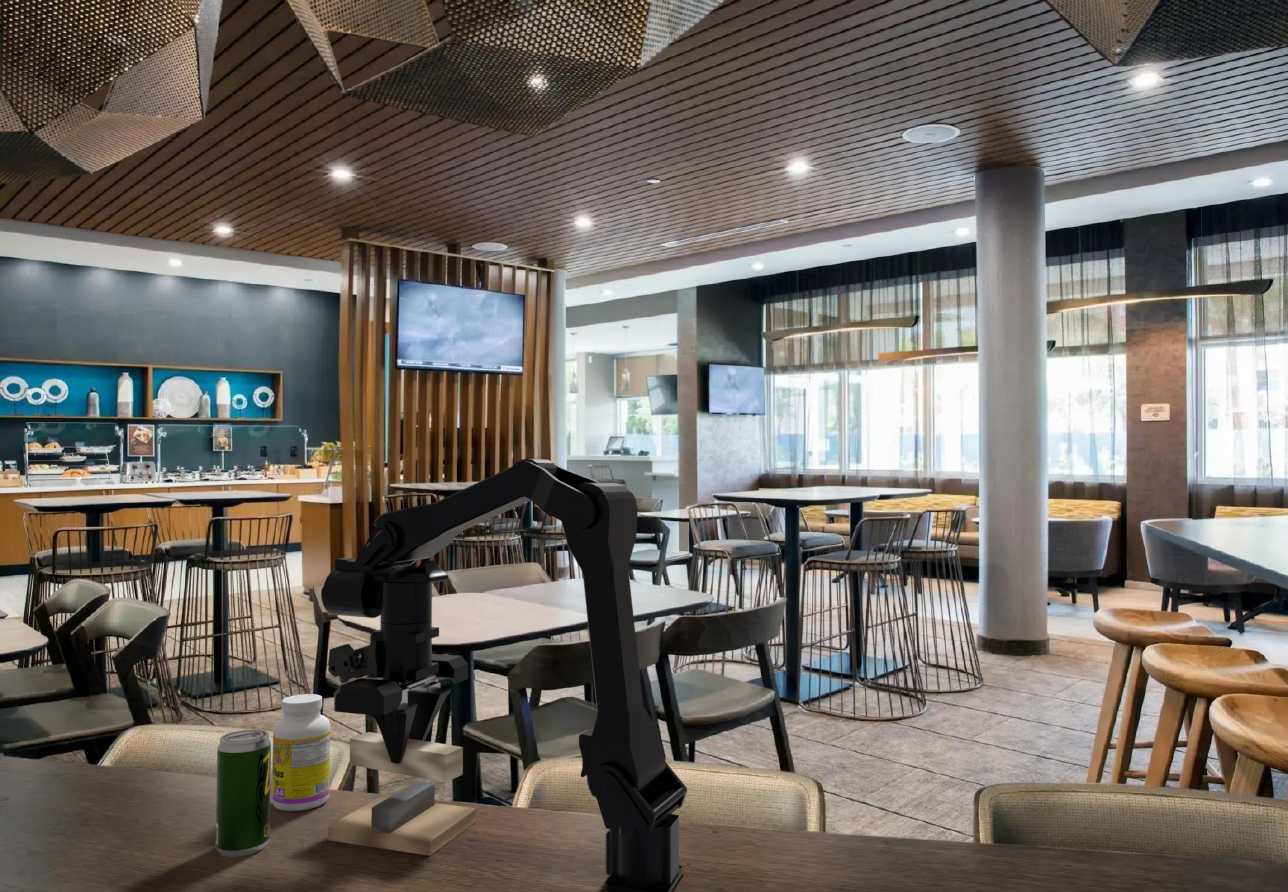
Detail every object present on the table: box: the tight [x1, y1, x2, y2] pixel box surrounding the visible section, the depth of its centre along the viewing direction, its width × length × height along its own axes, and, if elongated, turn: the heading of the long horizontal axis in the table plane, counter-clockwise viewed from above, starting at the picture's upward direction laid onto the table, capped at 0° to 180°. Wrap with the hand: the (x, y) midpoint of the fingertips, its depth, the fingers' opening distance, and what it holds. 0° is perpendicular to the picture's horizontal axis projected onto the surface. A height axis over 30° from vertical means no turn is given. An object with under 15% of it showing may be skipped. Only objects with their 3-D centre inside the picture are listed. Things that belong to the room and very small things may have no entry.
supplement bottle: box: [271, 693, 331, 812], centre depth 111 cm, size 7×7×13 cm
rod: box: [349, 731, 464, 783], centre depth 102 cm, size 14×3×3 cm, turn 63°
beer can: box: [215, 729, 272, 858], centre depth 98 cm, size 5×5×12 cm
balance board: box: [327, 780, 478, 856], centre depth 102 cm, size 13×10×4 cm
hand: (405, 758), depth 102 cm, fingers closed on rod, 3 cm apart
